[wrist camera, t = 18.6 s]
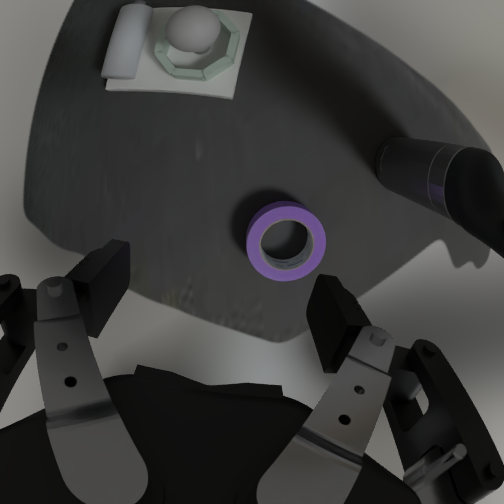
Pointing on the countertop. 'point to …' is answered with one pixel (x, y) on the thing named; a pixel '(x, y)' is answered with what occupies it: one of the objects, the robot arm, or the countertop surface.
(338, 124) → the countertop surface
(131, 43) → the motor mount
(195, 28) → the lightbulb
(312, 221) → the masking tape
